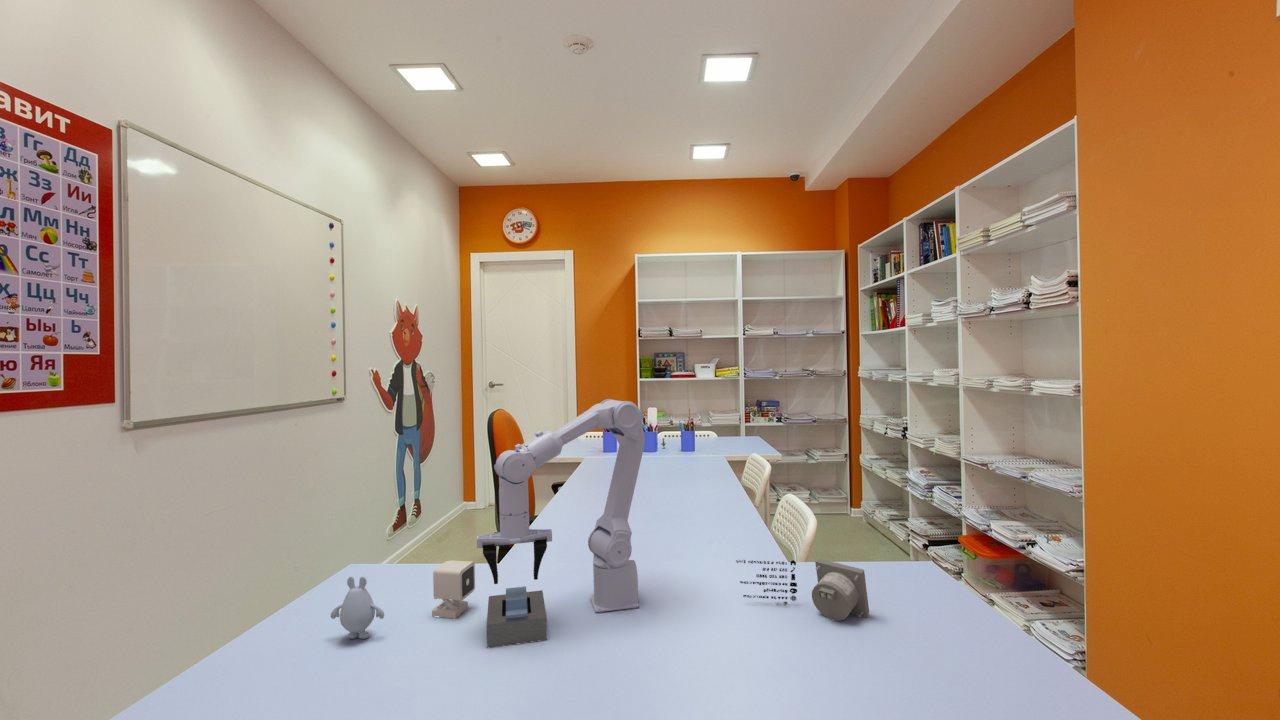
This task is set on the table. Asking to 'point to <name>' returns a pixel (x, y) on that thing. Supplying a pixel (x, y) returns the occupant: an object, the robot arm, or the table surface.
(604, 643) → the table surface
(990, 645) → the table surface
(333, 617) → the toy figure
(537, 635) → the frame
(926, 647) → the table surface
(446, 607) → the security camera
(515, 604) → the block
